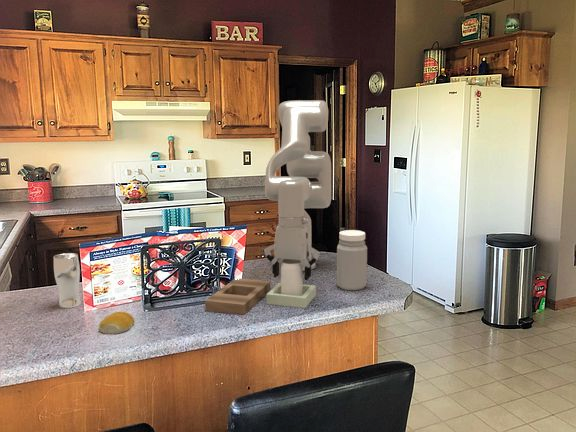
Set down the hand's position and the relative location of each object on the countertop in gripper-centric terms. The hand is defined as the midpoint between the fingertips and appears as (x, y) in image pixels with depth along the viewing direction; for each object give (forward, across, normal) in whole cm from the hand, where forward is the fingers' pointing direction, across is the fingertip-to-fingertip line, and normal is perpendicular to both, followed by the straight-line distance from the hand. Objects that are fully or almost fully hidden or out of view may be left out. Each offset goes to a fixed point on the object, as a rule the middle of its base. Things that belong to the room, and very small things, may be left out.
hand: (291, 277), depth 155 cm
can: (+7, 0, 0) cm, 7 cm away
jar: (+7, -15, -17) cm, 24 cm away
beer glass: (+7, +62, +23) cm, 66 cm away
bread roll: (+7, +38, +34) cm, 51 cm away
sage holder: (+7, 0, 0) cm, 7 cm away
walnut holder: (+7, +15, +5) cm, 17 cm away
